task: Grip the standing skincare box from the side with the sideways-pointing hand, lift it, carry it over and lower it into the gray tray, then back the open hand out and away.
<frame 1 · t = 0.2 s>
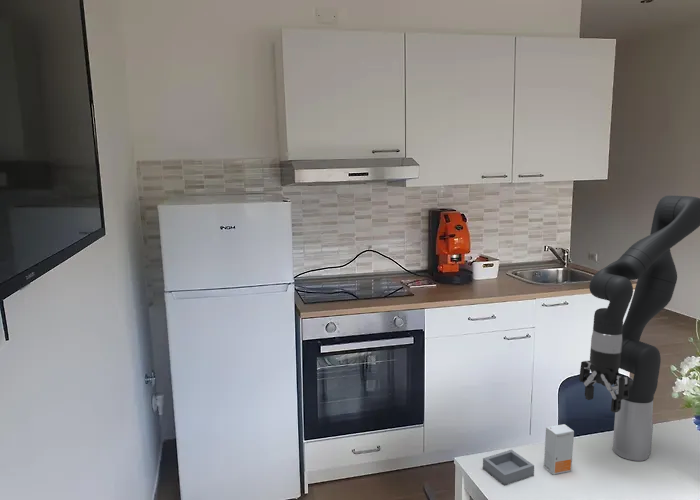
hand: (601, 405, 143), 18 cm above the table, tool pointing down, fingers open, 8 cm apart
skincare box: (557, 470, 144), on the table
gray tray: (507, 471, 143), on the table
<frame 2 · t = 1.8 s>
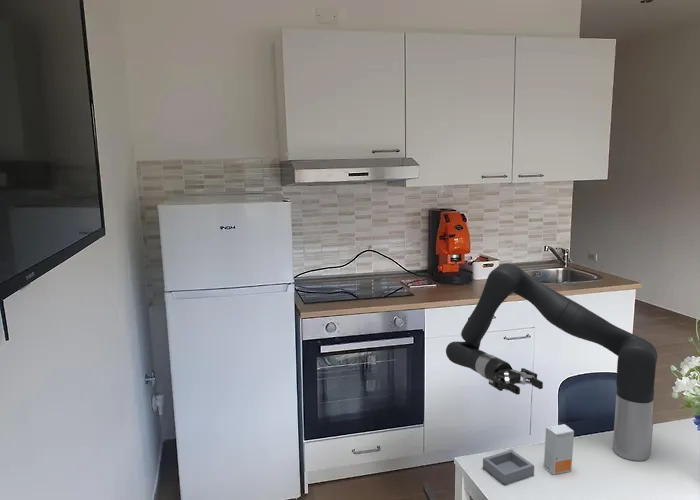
hand: (530, 388, 151), 19 cm above the table, tool horizontal, fingers open, 8 cm apart
nothing on the table moved.
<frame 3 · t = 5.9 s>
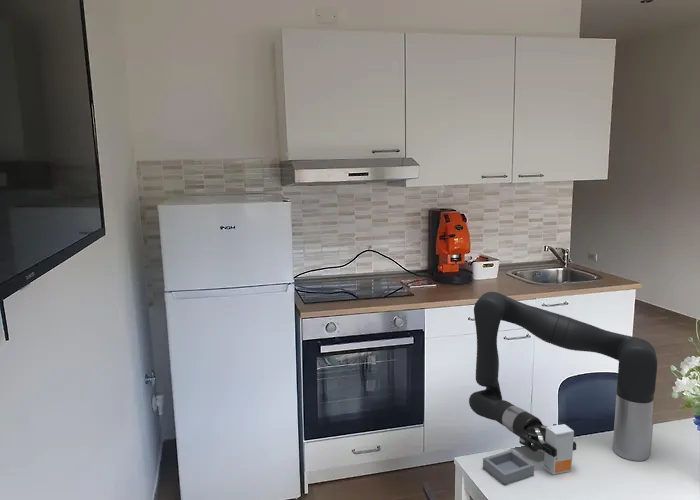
hand: (565, 450, 141), 7 cm above the table, tool horizontal, fingers closed on skincare box, 6 cm apart
skincare box: (557, 469, 144), on the table, touching gripper
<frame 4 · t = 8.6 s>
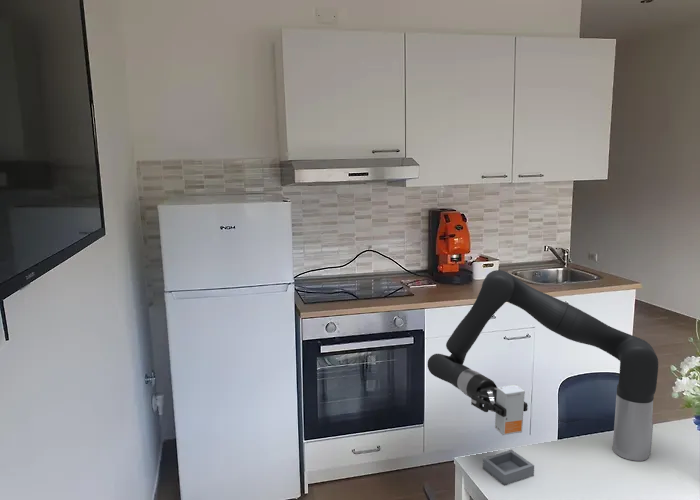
hand: (516, 410, 138), 19 cm above the table, tool horizontal, fingers closed on skincare box, 6 cm apart
skincare box: (508, 431, 141), point 12 cm above the table, touching gripper
when the fingers open (8 cm above the table, at t = 11.6 s): skincare box drops 1 cm, resting on gray tray.
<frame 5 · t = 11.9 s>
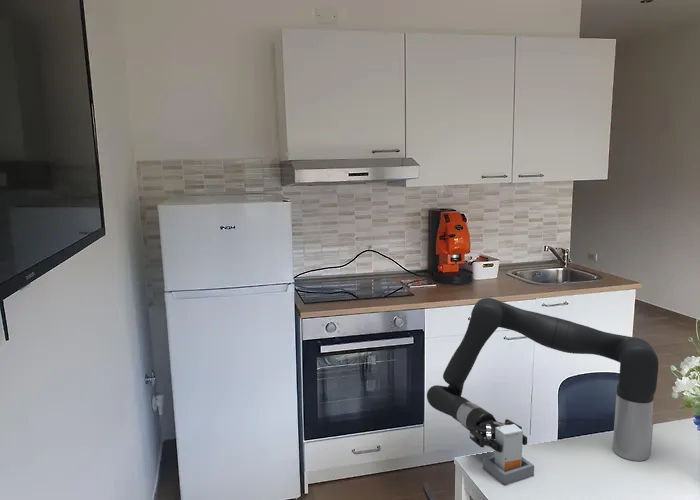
hand: (513, 445, 140), 9 cm above the table, tool horizontal, fingers open, 8 cm apart
skincare box: (507, 470, 143), resting on gray tray
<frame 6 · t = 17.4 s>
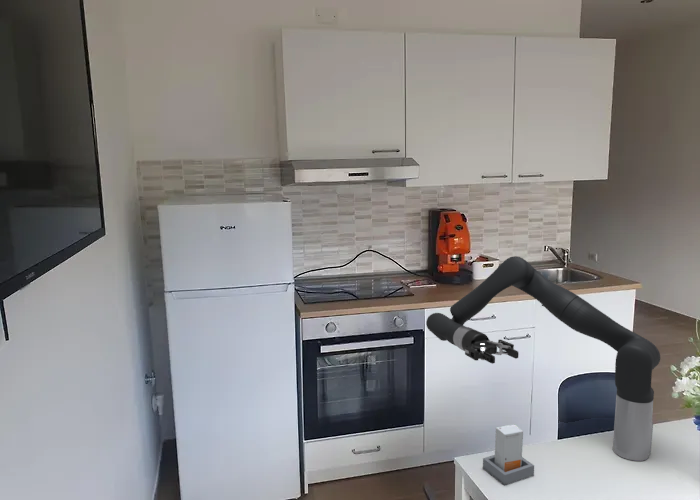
hand: (506, 357, 150), 28 cm above the table, tool horizontal, fingers open, 8 cm apart
nothing on the table moved.
at the end: skincare box 0.2 cm off-centre on the gray tray, point 0.3 cm above the gray tray's base; skincare box tilted 0°; the gripper is holding nothing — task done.
